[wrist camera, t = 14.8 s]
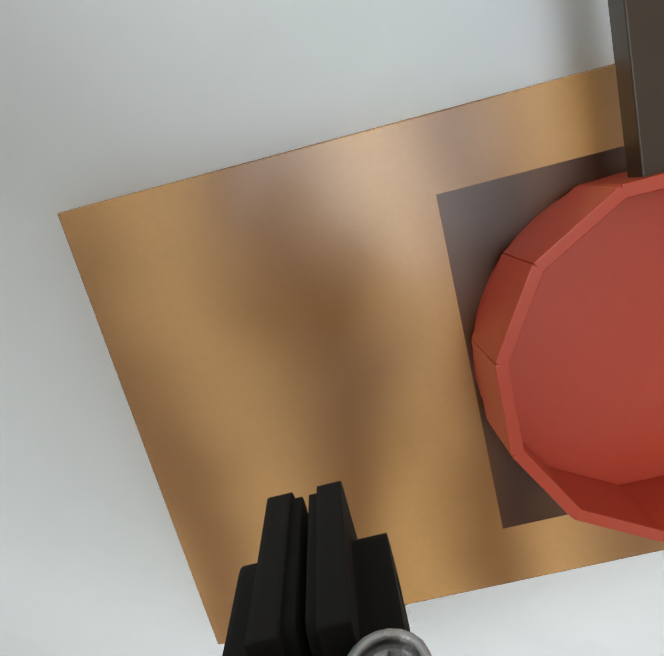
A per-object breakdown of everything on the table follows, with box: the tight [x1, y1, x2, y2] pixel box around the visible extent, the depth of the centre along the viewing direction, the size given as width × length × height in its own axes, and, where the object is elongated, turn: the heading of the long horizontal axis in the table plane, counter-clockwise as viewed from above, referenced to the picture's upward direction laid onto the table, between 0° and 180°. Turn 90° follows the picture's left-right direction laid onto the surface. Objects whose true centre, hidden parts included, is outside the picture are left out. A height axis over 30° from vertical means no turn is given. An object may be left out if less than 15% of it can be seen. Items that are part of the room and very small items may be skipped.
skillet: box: [471, 0, 664, 542], centre depth 20 cm, size 14×23×4 cm, turn 14°
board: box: [58, 64, 664, 644], centre depth 24 cm, size 32×22×1 cm
